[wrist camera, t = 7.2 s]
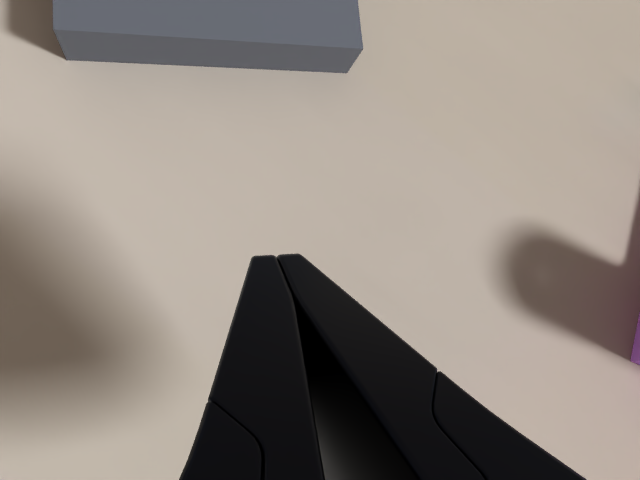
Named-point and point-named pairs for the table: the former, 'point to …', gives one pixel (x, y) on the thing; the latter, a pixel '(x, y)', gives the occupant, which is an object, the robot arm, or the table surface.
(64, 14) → the tile
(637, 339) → the bracket
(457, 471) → the robot arm
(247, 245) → the table surface
